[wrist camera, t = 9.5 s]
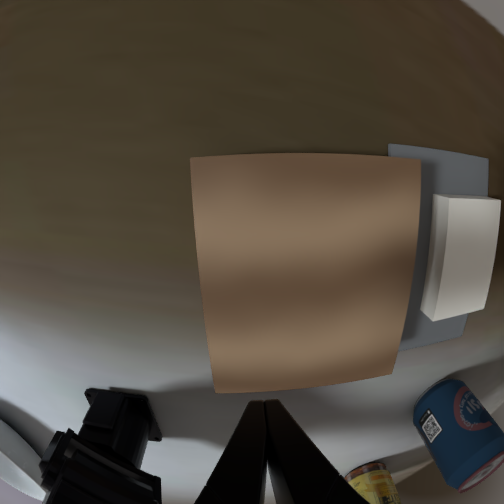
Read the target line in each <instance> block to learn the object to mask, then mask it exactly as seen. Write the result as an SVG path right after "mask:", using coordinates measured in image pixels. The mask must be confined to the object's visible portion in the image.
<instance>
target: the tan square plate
mask: <svg viewBox="0 0 504 504" xmlns="http://www.w3.org/2000/svg"><path fill="white" fill-rule="evenodd" d="M190 168H191V184H192V199H193V212H194V225H195V236H196V247H197V257H198V267H199V277H200V286H201V295H202V303H203V311H204V319H205V327H206V334H207V341H208V349H209V355H210V362H211V369H212V375H213V382H214V388H215V393H248V392H266V391H280V390H291V389H301V388H310V387H318V386H326V385H333V384H340V383H346V382H352V381H358V380H364V379H369V378H374V377H379V376H384V375H389V374H392V371H393V368H394V364H395V360H396V357H397V353H398V349H399V345H400V341H401V336H402V332H403V327H404V323H405V318H406V313H407V308H408V303H409V297H410V291H411V285H412V279H413V272H414V265H415V257H416V248H417V238H418V227H419V214H420V194H421V160H420V159H411V158H400V157H388V156H374V155H356V154H330V153H267V154H240V155H222V156H208V157H195V158H190Z"/></svg>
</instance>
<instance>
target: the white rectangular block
mask: <svg viewBox="0 0 504 504" xmlns="http://www.w3.org/2000/svg"><path fill="white" fill-rule="evenodd" d="M500 209H501V200H498V199H494V198H490V197H486V196H471V195H447V194H433V202H432V222H431V235H430V246H429V255H428V263H427V271H426V278H425V285H424V291H423V297H422V302H421V308H420V310H421V311H422V312H423V313H424V314H425V315H426V316H427V317H429V318H430V319H431V320H432V321H437V320H442V319H446V318H450V317H454V316H458V315H462V314H466V313H470V312H473V311H477V310H481V309H484V306H485V302H486V298H487V294H488V290H489V285H490V280H491V275H492V270H493V265H494V259H495V253H496V246H497V239H498V230H499V221H500Z"/></svg>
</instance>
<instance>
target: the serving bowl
mask: <svg viewBox="0 0 504 504" xmlns="http://www.w3.org/2000/svg"><path fill="white" fill-rule="evenodd" d="M40 461H41V458H40V457H39V456H38V454H37V453H36V452H35V451H34V450H33V449H32V448H31V446H30V445H29V444H28V443H27V442H26V441H25V440H24V439H23V438H22V437H21V436H20V435H19V434H18V433H17V432H16V431H14V430H13V429H12V428H11V427H10V426H9V425H7V424H6V423H5V422H3V421H2V420H1V419H0V478H1V479H2V480H4V481H5V482H6V483H8V484H9V485H11V486H13V487H14V488H16V489H17V490H19V491H21V492H23V493H25V494H27V495H29V496H31V497H33V498H35V499H38V500H41V501H43V500H44V497H45V495H46V493H47V490H45V489H44V488H42V487H41V486H40V484H41V482H42V478H41V475H42V473H41V471H40V468H39V466H38V465H39V463H40Z"/></svg>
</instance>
